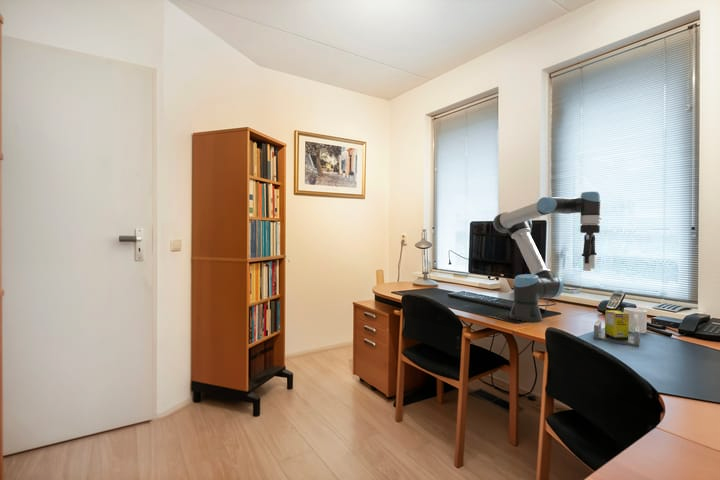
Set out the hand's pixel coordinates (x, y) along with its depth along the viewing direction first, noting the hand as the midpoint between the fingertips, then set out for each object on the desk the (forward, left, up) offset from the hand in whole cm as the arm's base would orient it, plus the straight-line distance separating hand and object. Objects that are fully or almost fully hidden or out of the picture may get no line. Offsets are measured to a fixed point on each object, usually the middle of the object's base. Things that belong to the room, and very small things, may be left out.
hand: (589, 269), depth 157 cm
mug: (+17, +10, -29) cm, 35 cm away
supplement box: (+11, -9, -28) cm, 31 cm away
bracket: (+12, -9, -29) cm, 32 cm away
